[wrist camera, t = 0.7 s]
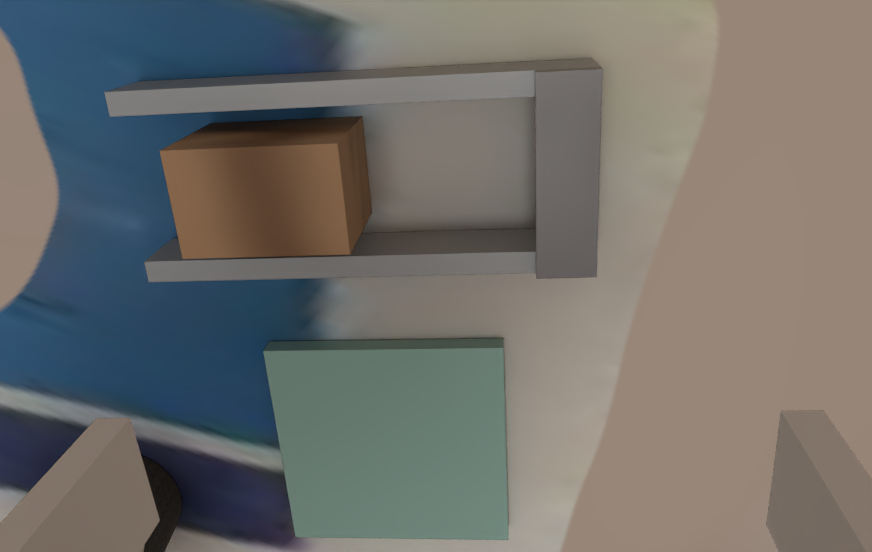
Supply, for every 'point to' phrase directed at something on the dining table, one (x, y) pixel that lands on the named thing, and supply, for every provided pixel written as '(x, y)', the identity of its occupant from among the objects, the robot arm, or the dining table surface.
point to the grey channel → (427, 250)
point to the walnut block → (269, 188)
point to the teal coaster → (392, 437)
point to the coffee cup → (162, 506)
